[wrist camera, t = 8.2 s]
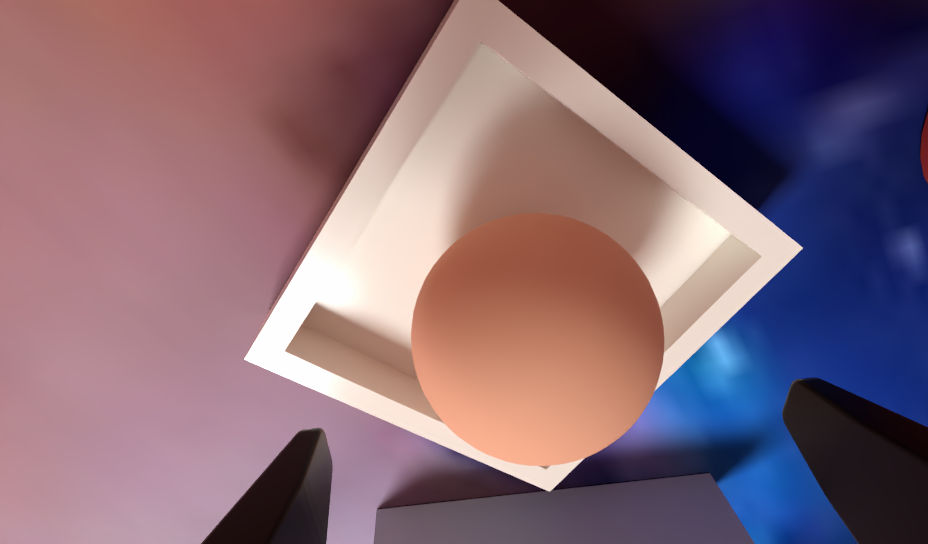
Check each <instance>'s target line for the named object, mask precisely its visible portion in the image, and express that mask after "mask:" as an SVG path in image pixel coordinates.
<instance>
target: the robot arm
mask: <svg viewBox="0 0 928 544" xmlns="http://www.w3.org/2000/svg"><path fill="white" fill-rule="evenodd" d="M782 416H783V420H784V423H785V425H786V427H787V429H788V431H789V432H790V434H791V436H792V438H793V439H794V441H795V443H796V445H797V446H798V448H799V450H800V452H801V454H802V455H803V457H804V459H805V461H806V462H807V464H808V466H809V468H810V469H811V471H812V473H813V475H814V477H815V478H816V480H817V482H818V484H819V485H820V487H821V489H822V490H823V492H824V494H825V495H826V497H827V499H828V500H829V502H830V503H831V505H832V506H833V508H834V509H835V511H836V512H837V514H838V515H839V516H840V518H841V519H842V521H843V522H844V524H845V525H846V526H847V528H848V529H849V531H850V532H851V534H852V535H853V537H854V538H855V539H856V541H857V542H858V544H928V427H926V426H924V425H921V424H919V423H917V422H915V421H913V420H910V419H908V418H906V417H904V416H901V415H899V414H897V413H895V412H893V411H890V410H888V409H886V408H884V407H882V406H879V405H877V404H875V403H873V402H871V401H868V400H866V399H864V398H862V397H859V396H857V395H855V394H853V393H851V392H848V391H846V390H844V389H842V388H840V387H837V386H835V385H833V384H831V383H828V382H826V381H824V380H822V379H819V378H804V379H797V380H794V381H793V382H792V383H791V386H790V389H789V392H788V395H787V398H786V401H785V404H784V407H783V411H782ZM331 481H332V458H331V454H330V450H329V447H328V443H327V439H326V435H325V432H324V430H323V429H321V428H313V429H303V430H301V431H299V432H298V433H297V434H296V435H295V436H294V437H293V438H292V440H291V441H290V442H289V443H288V444H287V445H286V447H285V448H284V449H283V450H282V451H281V452H280V453H279V455H278V456H277V457H276V458H275V459H274V460H273V462H272V463H271V464H270V465H269V466H268V467H267V468H266V470H265V471H264V472H263V473H262V474H261V475H260V476H259V478H258V479H257V480H256V481H255V482H254V483H253V485H252V486H251V487H250V488H249V489H248V490H247V491H246V493H245V494H244V495H243V496H242V497H241V498H240V499H239V501H238V502H237V503H236V504H235V505H234V506H233V508H232V509H231V510H230V511H229V512H228V513H227V514H226V516H225V517H224V518H223V519H222V520H221V521H220V522H219V524H218V525H217V526H216V527H215V528H214V529H213V531H212V532H211V533H210V534H209V535H208V536H207V537H206V539H205V540H204V541H203V542H202V543H201V544H326V539H327V527H328V516H329V504H330V493H331Z"/></svg>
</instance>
